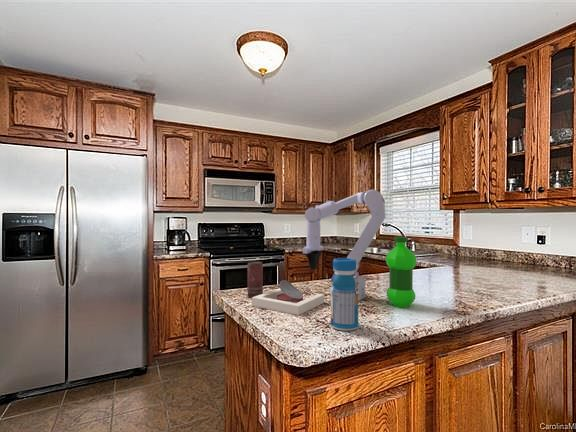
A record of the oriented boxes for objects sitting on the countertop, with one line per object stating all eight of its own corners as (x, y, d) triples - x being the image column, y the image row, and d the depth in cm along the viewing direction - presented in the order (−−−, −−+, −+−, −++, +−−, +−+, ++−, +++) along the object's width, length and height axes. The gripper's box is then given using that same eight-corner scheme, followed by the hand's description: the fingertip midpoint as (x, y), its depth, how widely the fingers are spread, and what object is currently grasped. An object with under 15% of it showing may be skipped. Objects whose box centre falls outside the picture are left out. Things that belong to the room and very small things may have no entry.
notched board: (324, 302, 121) (324, 294, 121) (298, 315, 106) (298, 306, 106) (281, 294, 132) (281, 287, 132) (251, 305, 117) (251, 297, 117)
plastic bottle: (403, 311, 110) (404, 238, 110) (380, 304, 119) (380, 236, 119) (422, 306, 116) (422, 237, 115) (398, 300, 124) (398, 235, 124)
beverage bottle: (340, 333, 90) (340, 262, 90) (324, 324, 97) (324, 258, 97) (364, 329, 93) (365, 260, 93) (348, 320, 101) (348, 256, 101)
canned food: (292, 312, 125) (302, 288, 127) (302, 317, 115) (313, 291, 118) (267, 301, 121) (278, 276, 124) (275, 305, 112) (287, 278, 115)
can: (260, 299, 126) (260, 263, 126) (245, 298, 127) (245, 262, 127) (265, 295, 132) (265, 261, 132) (250, 294, 133) (250, 260, 133)
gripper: (313, 235, 142) (312, 265, 142) (296, 237, 130) (295, 270, 130) (327, 235, 138) (327, 267, 139) (311, 238, 126) (311, 272, 126)
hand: (313, 269), depth 134 cm, fingers closed
